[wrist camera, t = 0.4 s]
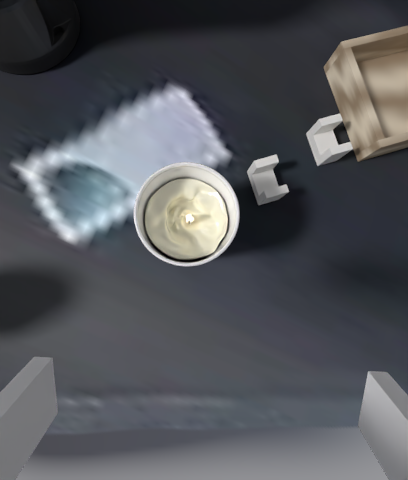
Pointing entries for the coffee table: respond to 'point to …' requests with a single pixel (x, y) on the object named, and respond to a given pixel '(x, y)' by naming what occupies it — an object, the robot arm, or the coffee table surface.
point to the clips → (322, 150)
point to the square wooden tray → (372, 91)
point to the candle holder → (186, 214)
